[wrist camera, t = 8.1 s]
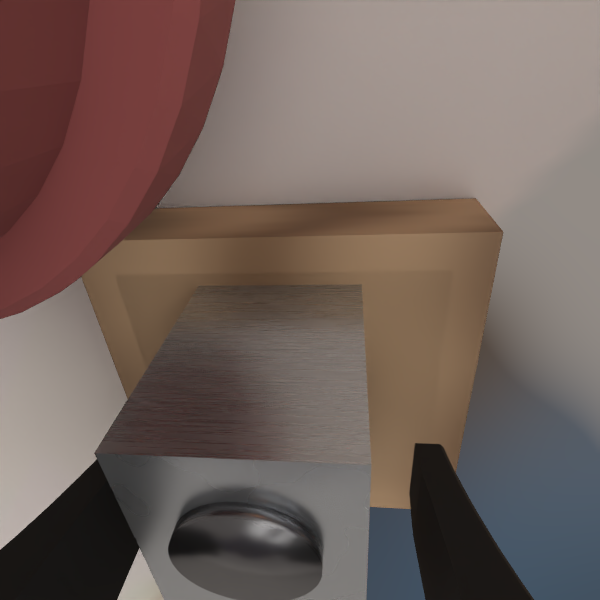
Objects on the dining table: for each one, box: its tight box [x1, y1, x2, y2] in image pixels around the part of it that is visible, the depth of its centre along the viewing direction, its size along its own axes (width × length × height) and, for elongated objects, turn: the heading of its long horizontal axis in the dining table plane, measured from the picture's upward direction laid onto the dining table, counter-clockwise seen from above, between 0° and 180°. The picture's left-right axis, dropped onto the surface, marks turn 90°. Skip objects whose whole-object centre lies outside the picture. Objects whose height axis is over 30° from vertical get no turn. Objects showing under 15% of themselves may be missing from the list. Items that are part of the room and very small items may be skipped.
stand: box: [81, 198, 503, 509], centre depth 14 cm, size 11×11×2 cm
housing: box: [95, 285, 371, 600], centre depth 11 cm, size 8×4×6 cm, turn 3°
